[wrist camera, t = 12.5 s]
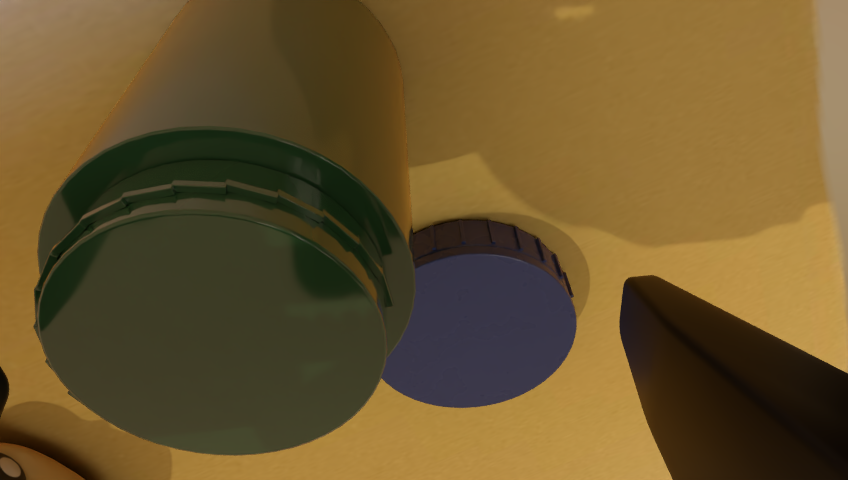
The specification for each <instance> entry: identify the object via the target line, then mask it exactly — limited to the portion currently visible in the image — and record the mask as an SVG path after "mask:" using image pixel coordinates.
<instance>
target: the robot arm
mask: <svg viewBox="0 0 848 480" xmlns="http://www.w3.org/2000/svg"><path fill="white" fill-rule="evenodd" d="M620 334H621V339H622V343H623V346H624V349H625V353H626V356H627V359H628V362H629V366H630V369H631V372H632V375H633V379H634V382H635V385H636V389H637V392H638V395H639V398H640V402H641V405H642V408H643V411H644V414H645V417H646V420H647V423H648V425H649V428H650V430H651V433H652V435H653V437H654V439H655V442H656V444H657V446H658V448H659V450H660V453H661V455H662V457H663V459H664V461H665V463H666V466H667V468H668V470H669V472H670V474H671V476H672V479H673V480H848V373H846V372H844V371H842V370H840V369H838V368H836V367H834V366H832V365H830V364H828V363H826V362H824V361H822V360H820V359H818V358H816V357H814V356H812V355H810V354H808V353H806V352H804V351H802V350H800V349H799V348H797V347H795V346H793V345H791V344H789V343H787V342H785V341H783V340H781V339H779V338H777V337H775V336H773V335H771V334H769V333H767V332H765V331H763V330H761V329H759V328H757V327H755V326H753V325H751V324H750V323H748V322H746V321H744V320H742V319H740V318H738V317H736V316H734V315H732V314H730V313H728V312H726V311H724V310H722V309H720V308H718V307H716V306H714V305H712V304H710V303H708V302H706V301H704V300H702V299H700V298H699V297H697V296H695V295H693V294H691V293H689V292H687V291H685V290H683V289H681V288H679V287H677V286H675V285H673V284H671V283H669V282H667V281H665V280H663V279H661V278H659V277H657V276H654V275H648V276H638V277H630V278H628V279H627V280H626V281H625V283H624V287H623V295H622V304H621V312H620ZM8 395H9V383H8V379H7V377H6V375H5V373H4V372H3V370H2V368H1V367H0V417H1V414H2V412H3V409H4V407H5V404H6V401H7V399H8Z"/></svg>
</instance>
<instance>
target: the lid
mask: <svg viewBox="0 0 848 480" xmlns="http://www.w3.org/2000/svg"><path fill="white" fill-rule="evenodd" d="M413 244H414V260H415V279H416V293H415V301H414V308H413V311H412V314H411V317H410V321H409V324H408V326H407V328H406V330H405V332H404V334H403V336H402V338H401V340H400V341H399V343H398V344H397V346H396V347H395V348H394V350H393V351H392V352H391V354H390V355H389V356H388V357H387V358H386V365H385V368H384V371H383V375H382V379H383V380H384V381H385V382H386V383H387V384H388V385H390V386H391V387H392V388H394V389H395V390H397V391H398V392H400V393H402V394H403V395H406V396H408V397H410V398H412V399H414V400H417V401H420V402H424V403H427V404H432V405H436V406H443V407H454V408H468V407H480V406H487V405H492V404H496V403H500V402H503V401H506V400H510V399H512V398H515V397H517V396H520V395H522V394H524V393H526V392H528V391H530V390H531V389H533V388H535V387H536V386H538V385H539V384H541V383H542V382H544V381H545V380H546V379H547V378H548V377H550V376H551V375H552V374H553V373H554V372H555V371H556V370H557V369H558V368H559V367H560V365H561V364H562V363H563V361H564V360H565V358H566V357H567V355H568V353H569V351H570V349H571V347H572V344H573V341H574V338H575V333H576V327H577V326H576V313H575V309H574V305H573V302H572V299H571V298H572V297H574V296H573V293H572V290H571V287H570V284H569V281H568V278H567V275H566V272H564V273H563V272H562V270H561V267H560V264H559V261H558V258H557V255H556V254H552V253H551V252H550V251H549V249H548V248H547V247H546V246H545V245H543V244H542V243H541V240H540V238H537V239H536V238H534V237H533V236H531V235H529V234H528V233H526V232H524V231H522V230H519V229H518V227H517V226H514V227H512V226H508V225H505V224H502V223H497V222H491V220H487V221H478V220H468V221H462V219H461V220H458V221H456V222H449V223H444V224H440V225H437V226H433V225H432V226H430V228H427V229H425V230H422V231H420V232H418V233H416V234H414V235H413Z"/></svg>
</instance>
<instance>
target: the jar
mask: <svg viewBox="0 0 848 480" xmlns="http://www.w3.org/2000/svg"><path fill="white" fill-rule="evenodd" d="M37 252H38V262H39V272H40V278H39V281H38V283H37V285H36V287H35V289H34V297H35V319H36V322H35V324H34V326H33V327H34V329H35V331H36V333H37V336H38V338H39V340H40V342H41V345H42V348H43V351H44V353H45V355H46V358H47V359H46V361H45V362H46V363H47V364H48V365H49V367H50V368H51V369H52V370H53V371H54V372H55V373H56V375H57V376H58V378H59V379H60V381H61V382H62V383H63V384H64V385H65V387H66V388H67V389H68V390H69V391H68V394H69V395H70V396H72V397H73V398H75V399H76V400H78V401H79V402H80V403H82V404H83V405H85V406H86V407H87V408H88V409H90V410H91V411H93V412H94V413H95V414H97V415H98V416H100V417H101V418H103V419H104V420H106V421H108V422H109V423H111V424H113V425H115V426H116V427H118V428H120V429H122V430H124V431H126V432H128V433H131V434H133V435H135V436H137V437H139V438H142V439H145V440H148V441H151V442H153V443H156V444H159V445H163V446H167V447H171V448H174V449H178V450H184V451H189V452H195V453H202V454H212V455H234V456H238V455H256V454H264V453H271V452H277V451H281V450H286V449H290V448H294V447H297V446H300V445H303V444H306V443H309V442H312V441H314V440H316V439H318V438H320V437H323V436H325V435H327V434H329V433H330V432H332V431H334V430H335V429H337V428H339V427H341V426H342V425H343V424H344V423H346V422H347V421H348V420H350V419H351V418H352V417H354V416H355V415H356V414H357V413H358V412H359V411H360V410H361V409H362V407H363V406H364V405H365V404H366V403H367V401H368V400H369V399H370V397H371V396H372V395H373V393H374V392H375V390H376V388H377V386H378V384H379V382H380V380H381V378H382V375H383V371H384V368H385V365H386V358H387V357H388V356H389V355H390V354H391V352H392V351H393V350H394V348H395V347H396V346H397V344H398V343H399V341H400V340H401V338H402V336H403V334H404V332H405V330H406V328H407V326H408V324H409V321H410V317H411V314H412V311H413V308H414V301H415V293H416V279H415V260H414V244H413V229H412V213H411V197H410V181H409V166H408V150H407V134H406V118H405V103H404V87H403V77H402V71H401V66H400V62H399V59H398V56H397V53H396V50H395V48H394V46H393V44H392V42H391V40H390V38H389V36H388V34H387V33H386V31H385V30H384V28H383V27H382V25H381V24H380V22H379V21H378V20H377V19H376V18H375V17H374V15H373V14H372V13H371V12H370V11H369V10H368V9H367V8H366V7H365V6H364V5H363V4H362V3H361V2H359V1H358V0H190V1H188V2H187V3H186V4H185V6H184V7H183V8H182V10H181V11H180V12H179V13H178V15H177V16H176V17H175V19H174V20H173V22H172V23H171V25H170V26H169V28H168V29H167V31H166V32H165V34H164V35H163V36H162V38H161V39H160V41H159V42H158V44H157V45H156V47H155V48H154V50H153V51H152V52H151V54H150V55H149V57H148V58H147V60H146V61H145V63H144V64H143V66H142V67H141V68H140V70H139V71H138V73H137V74H136V76H135V77H134V79H133V80H132V82H131V83H130V85H129V86H128V87H127V89H126V90H125V92H124V93H123V95H122V96H121V98H120V99H119V101H118V102H117V103H116V105H115V106H114V108H113V109H112V111H111V112H110V114H109V115H108V117H107V118H106V119H105V121H104V122H103V124H102V125H101V127H100V128H99V130H98V131H97V133H96V134H95V136H94V137H93V138H92V140H91V141H90V143H89V144H88V146H87V147H86V149H85V150H84V152H83V153H82V154H81V156H80V157H79V159H78V160H77V162H76V163H75V165H74V166H73V168H72V169H71V170H70V172H69V173H68V175H67V176H66V178H65V179H64V181H63V182H62V184H61V185H60V187H59V188H58V189H57V191H56V192H55V194H54V195H53V197H52V199H51V201H50V203H49V205H48V207H47V209H46V211H45V213H44V217H43V220H42V224H41V227H40V231H39V240H38V251H37Z"/></svg>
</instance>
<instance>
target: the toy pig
mask: <svg viewBox="0 0 848 480" xmlns="http://www.w3.org/2000/svg"><path fill="white" fill-rule="evenodd" d="M0 480H85V479H84V478H82V477H81V476H80V475H78V474H77V473H75V472H74V471H72V470H70V469H69V468H67V467H65V466H64V465H62V464H60V463H59V462H57V461H55V460H53V459H52V458H50V457H48V456H46V455H44V454H41V453H39V452H37V451H35V450H32V449H30V448H27V447H24V446H20V445H16V444H9V443H0Z"/></svg>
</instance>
